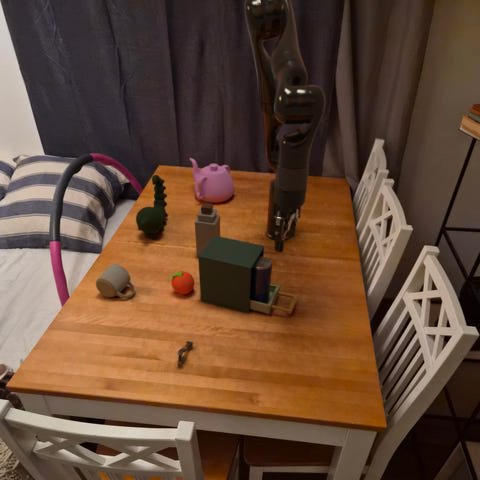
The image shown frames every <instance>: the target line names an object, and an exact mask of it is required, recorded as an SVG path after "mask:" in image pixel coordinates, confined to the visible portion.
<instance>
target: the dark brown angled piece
mask: <svg viewBox="0 0 480 480" xmlns="http://www.w3.org/2000/svg"><path fill="white" fill-rule="evenodd" d="M193 347H194V341H191V340H186V342H185V345H184V346H183V347H181V348H179V350H177V353H176V354H177V356H178V360H177V367H181V365H182V363H184V362H185V360H186V357H185V356H183V354H184V353H186V352H187V351H188V349H193Z"/></svg>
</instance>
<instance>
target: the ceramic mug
mask: <svg viewBox="0 0 480 480" xmlns="http://www.w3.org/2000/svg"><path fill="white" fill-rule="evenodd" d="M127 286H129V287H131V289H132V292H131V293H130V294H129V293H128V294H123V293H121V292H122V291H123V290H124V289H125V288H126V287H127ZM95 287H96V289H97V290H98V292H99V293H100V294H101V295H102V296H104V297H107V298H114V297H116V296H118V297H120V298H122V299H131V298H132V297H133V296H134V295H135V293H136V287H135V285H134V284H133V282H132V281H131V275H130V274H129V272H128V270H127V269H126V268H125V267H123V266H122V265H120V264H118V263H111V264H109V266H108V267H107V268H106V269H105V270H104V271H103V272H102V273H101V274H100V275H99V276H98V278H97V279H96V281H95Z"/></svg>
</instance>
